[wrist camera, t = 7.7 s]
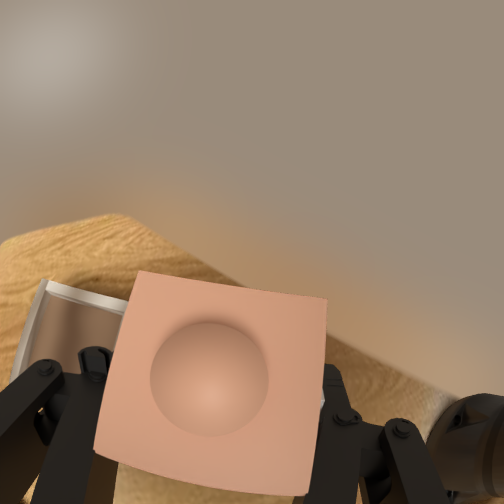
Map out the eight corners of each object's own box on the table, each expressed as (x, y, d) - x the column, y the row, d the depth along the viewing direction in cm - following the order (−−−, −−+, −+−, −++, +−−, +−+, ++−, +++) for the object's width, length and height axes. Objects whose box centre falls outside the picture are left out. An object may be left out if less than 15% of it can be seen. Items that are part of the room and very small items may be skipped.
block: (275, 372, 17) (336, 285, 7) (264, 447, 15) (315, 505, 4) (197, 359, 18) (129, 254, 7) (182, 433, 15) (76, 453, 4)
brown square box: (155, 326, 28) (137, 303, 23) (131, 429, 22) (106, 431, 17) (69, 303, 28) (42, 278, 23) (43, 393, 22) (8, 383, 17)
